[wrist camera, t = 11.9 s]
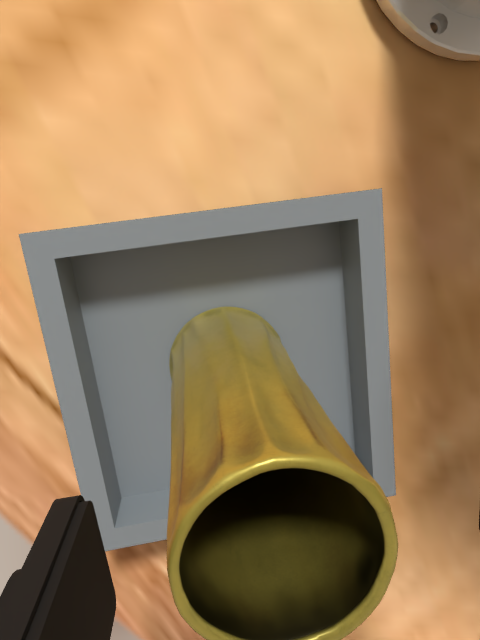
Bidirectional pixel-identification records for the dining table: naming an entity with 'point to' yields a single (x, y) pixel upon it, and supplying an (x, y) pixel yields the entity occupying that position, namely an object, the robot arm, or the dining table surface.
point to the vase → (265, 494)
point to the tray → (189, 301)
